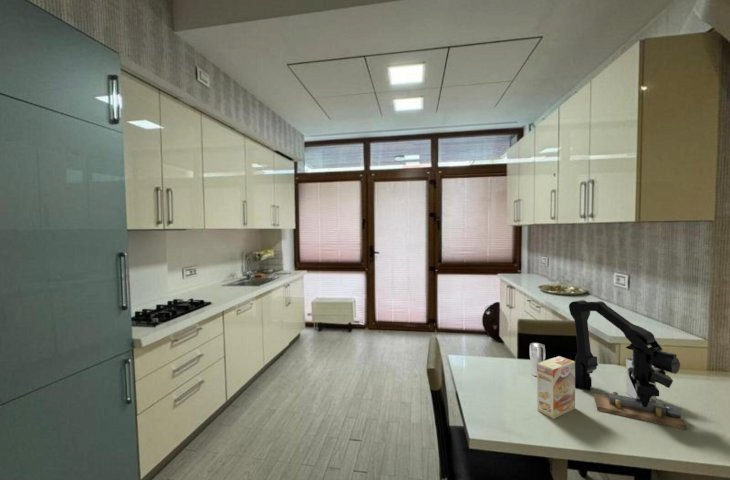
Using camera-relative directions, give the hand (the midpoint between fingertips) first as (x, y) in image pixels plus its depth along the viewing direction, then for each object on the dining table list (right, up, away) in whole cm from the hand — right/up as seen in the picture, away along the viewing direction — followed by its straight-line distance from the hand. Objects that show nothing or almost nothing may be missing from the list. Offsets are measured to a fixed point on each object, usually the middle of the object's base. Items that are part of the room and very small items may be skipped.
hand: (642, 402), depth 123 cm
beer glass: (-22, -4, +35) cm, 41 cm away
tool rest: (-2, -4, +1) cm, 5 cm away
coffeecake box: (-31, -5, +4) cm, 32 cm away
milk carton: (+9, -4, +11) cm, 15 cm away
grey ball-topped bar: (0, -3, 0) cm, 3 cm away
